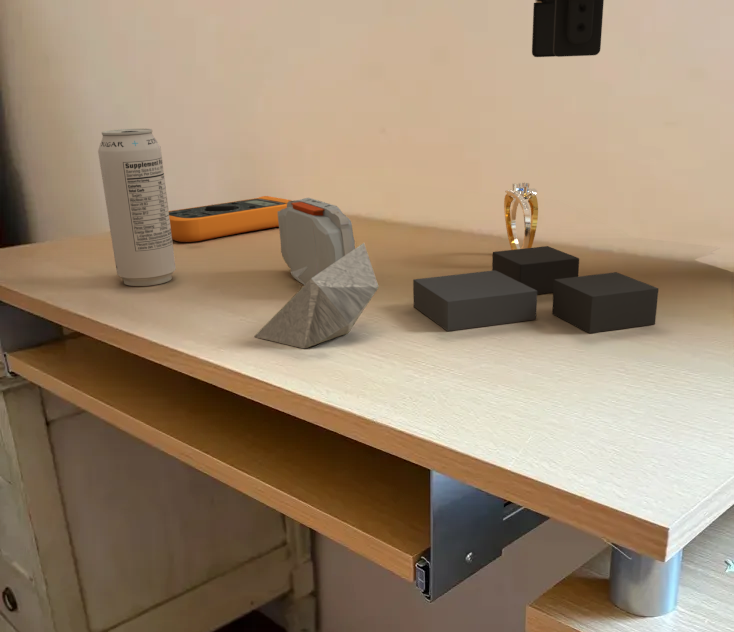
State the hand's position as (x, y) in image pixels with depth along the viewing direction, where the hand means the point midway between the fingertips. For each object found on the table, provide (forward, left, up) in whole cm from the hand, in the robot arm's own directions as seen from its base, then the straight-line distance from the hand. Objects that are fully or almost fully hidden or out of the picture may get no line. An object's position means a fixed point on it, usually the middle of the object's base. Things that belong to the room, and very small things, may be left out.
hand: (563, 56), depth 63 cm
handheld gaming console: (+16, -19, -20) cm, 32 cm away
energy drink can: (+32, -28, -20) cm, 47 cm away
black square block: (-3, +3, -20) cm, 21 cm away
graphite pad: (-3, -9, -20) cm, 22 cm away
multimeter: (+20, -52, -20) cm, 59 cm away
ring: (-7, -20, -20) cm, 29 cm away
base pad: (+6, -3, -20) cm, 21 cm away
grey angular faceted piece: (+19, -3, -20) cm, 28 cm away
